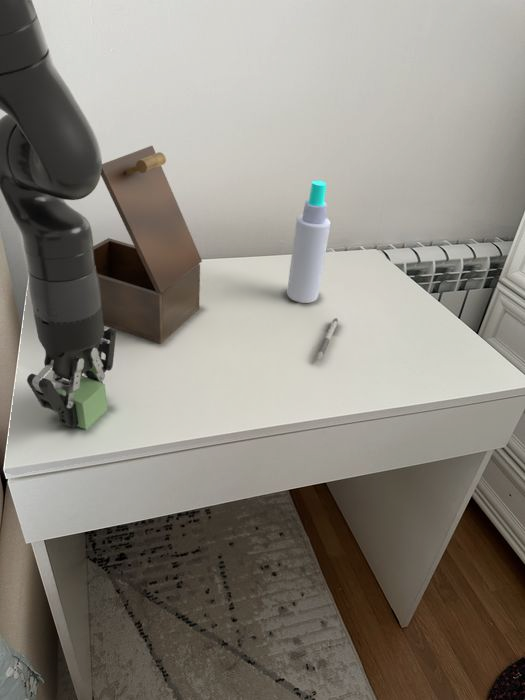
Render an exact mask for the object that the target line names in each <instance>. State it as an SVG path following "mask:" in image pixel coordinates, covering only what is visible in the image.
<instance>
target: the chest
mask: <svg viewBox="0 0 525 700" xmlns="http://www.w3.org/2000/svg"><path fill="white" fill-rule="evenodd" d="M93 247H94V257H95V266H96V271H97V275H98V279H99V284H100V292H101V302H102V312H103V323H104V326H107V327H109V328H112V329H115V330H118V331H122V332H124V333H126V334H130V335H133V336H136V337H139V338H142V339H145V340H147V341H150V342H153V343H157V344H160V345H161V344H162V343H164V341H166V340H167V339H169V337H170V336H171V335H172V334H173V333H175V331H176V330H178V329H179V328H180V327H181V326H182V325H184V323H186V322H187V321H188V320H189V319H190V318H191V317H192V316H193V315H194V314H195V313H197V312H198V311H199V310H200V295H201V294H200V292H201V291H200V289H201V263H199V264H198V265H197V266H195V267H194V268H193V269H191V270H190V271H189V272H188V273H186V274H185V275H184V276H182V277H181V278H180V279H179V280H177V281H176V282H175V283H173V284H172V285H171V286H169V287H168V288H167V289H166V290H164V291H163V292H162V293H159V294H157V292H156V290H155V288H154V286H153V284H152V282H151V280H150V277H149V275H148V273H147V271H146V269H145V267H144V265H143V263H142V261H141V259H140V256H139V254H138V252H137V250H136V248H135V246H134V244H130V243H127V242H124V241H120V240H116V239H113V238H110V237H107V238H106V239H104V240H102V241H100V242H98V243H96V244H94V245H93Z"/></svg>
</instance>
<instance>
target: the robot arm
mask: <svg viewBox="0 0 525 700" xmlns="http://www.w3.org/2000/svg"><path fill="white" fill-rule="evenodd" d="M51 55H52V54H51V51H50V49H49V47H48V43H47V39H46V37H45V34H44V31H43V28H42V25H41V22H40V20H39V17H38V14H37V11H36V8H35V5H34V3H33V0H0V110H1V111H2V112H4V113H5V114H4V116H2V117H1V118H0V192H1V195H2V196H3V199H4V201H5V203H6V205H7V208H8V210H9V212H10V215H11V216H12V218H13V220H14V222H15V224H16V226H17V228H18V229H19V232H20V233H21V237H22V244H23V249H24V254H25V255H24V256H25V260H26V266H27V269H28V289H29V295H30V301H31V306H32V312H33V317H34V322H35V327H36V332H37V338H38V340H39V343H40V344H41V346H42V348H43V349H44V351H45V357H44V364H43V365H44V366H43V368H42V369H41V370H40V371H39V372H38V373H37V374H35V373H30V374H29V375H28V376H27V379H26V382H27V384H28V386H29V387H30V389H31V391H32V393H33V394H34V396H35V397H36V399H37V401H38V402H39V404H40V406H41V407H42V408H44V409H48V410H50V411H53V412H55V413H56V414H57V416H58V415H59V418H58V421H59V422H60V424H62V425H64V426H67V427H68V428H76V427H78V426H77V425H78V417H77V410H76V404H74V403H75V393H76V390H79V388H80V379H81V375H82V376H85V377H87V378H90V379H93V380H95V381H98V382H101V383H103V384H104V382H103V381H104V380H105V378H106V375H105V373H106V372H107V371H109V372H110V371H111V370H112V369H113V365H114V358H115V357H114V356H115V347H116V337H117V329H115V328H112V327H109V326H106V325H104V323H103V312H102V302H101V292H100V284H99V279H98V275H97V271H96V266H95V257H94V247H93V246H94V238H93V231H92V227H91V224H90V222H89V221H88V219H87V218H86V217H85V216H84V215H83V214H82V213H80V212H78V211H77V210H75V209H74V208H72V207H71V206H70V205H69V204H68V203H67V202H66V201H77V200H78V201H79V200H82V199H84V198H87V197H88V196H89V195H90V194H92V193H93V192H94V191H95V189H97V188H96V187H97V186H98V185H99V181H100V179H101V177H102V176H101V170H102V164H103V159H102V152H101V147H100V144H99V140H98V138H97V136H96V133H95V131H94V129H93V127H92V126H91V123H90V121H89V120H88V118H87V116H86V115H85V113H84V111H83V110H82V108H81V106H80V104H79V103H78V101H77V99H76V98H75V96H74V94H73V93H72V91H71V89H70V88H69V86H68V85H67V83H66V82H65V80H64V79H63V77H62V76H61V74H60V72H59V71H58V70H57V68H56V66H55V64H54V62H53V59H52V56H51ZM102 353H103V354H104V355H105V358H102ZM69 380H71V381H69ZM63 390H65V391H66V396H64V395H62V391H63Z"/></svg>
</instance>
